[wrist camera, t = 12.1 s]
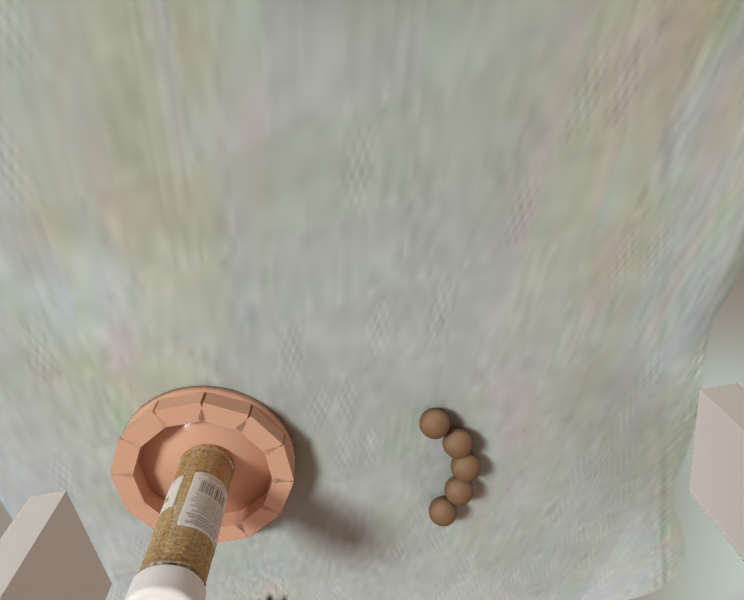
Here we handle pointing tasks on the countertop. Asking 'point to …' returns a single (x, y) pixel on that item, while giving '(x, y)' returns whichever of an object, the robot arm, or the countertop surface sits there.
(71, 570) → the robot arm
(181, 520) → the sprinkles bottle
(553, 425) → the countertop surface
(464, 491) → the bead string
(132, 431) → the saucer
